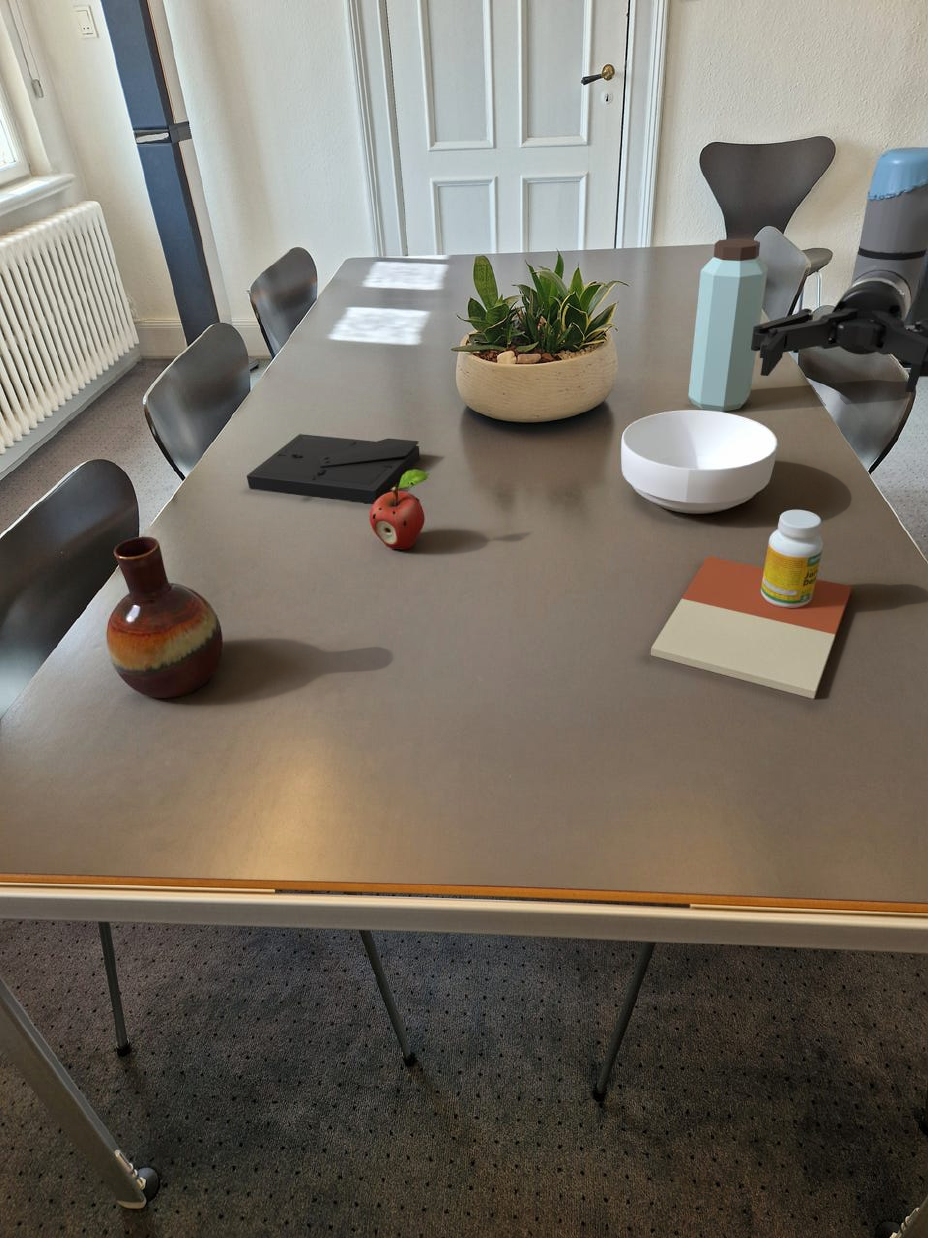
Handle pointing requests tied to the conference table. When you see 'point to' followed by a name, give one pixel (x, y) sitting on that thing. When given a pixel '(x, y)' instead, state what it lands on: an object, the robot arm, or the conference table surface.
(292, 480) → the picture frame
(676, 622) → the sorting mat
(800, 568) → the supplement bottle
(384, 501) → the apple
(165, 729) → the conference table surface
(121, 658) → the vase
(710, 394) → the water bottle
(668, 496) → the bowl
